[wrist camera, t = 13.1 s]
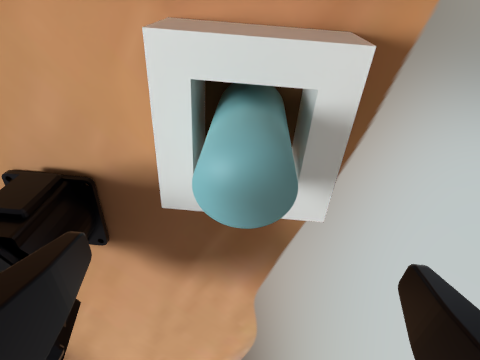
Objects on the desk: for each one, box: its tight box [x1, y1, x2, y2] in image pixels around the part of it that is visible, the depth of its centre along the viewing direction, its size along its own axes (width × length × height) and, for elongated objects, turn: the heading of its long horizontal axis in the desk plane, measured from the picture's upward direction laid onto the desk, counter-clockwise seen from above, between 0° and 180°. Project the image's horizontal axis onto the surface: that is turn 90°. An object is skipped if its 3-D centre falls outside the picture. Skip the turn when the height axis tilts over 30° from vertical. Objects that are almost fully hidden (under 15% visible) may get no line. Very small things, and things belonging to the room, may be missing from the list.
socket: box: [142, 17, 376, 222], centre depth 16 cm, size 9×9×4 cm
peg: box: [192, 83, 298, 229], centre depth 14 cm, size 4×4×8 cm
